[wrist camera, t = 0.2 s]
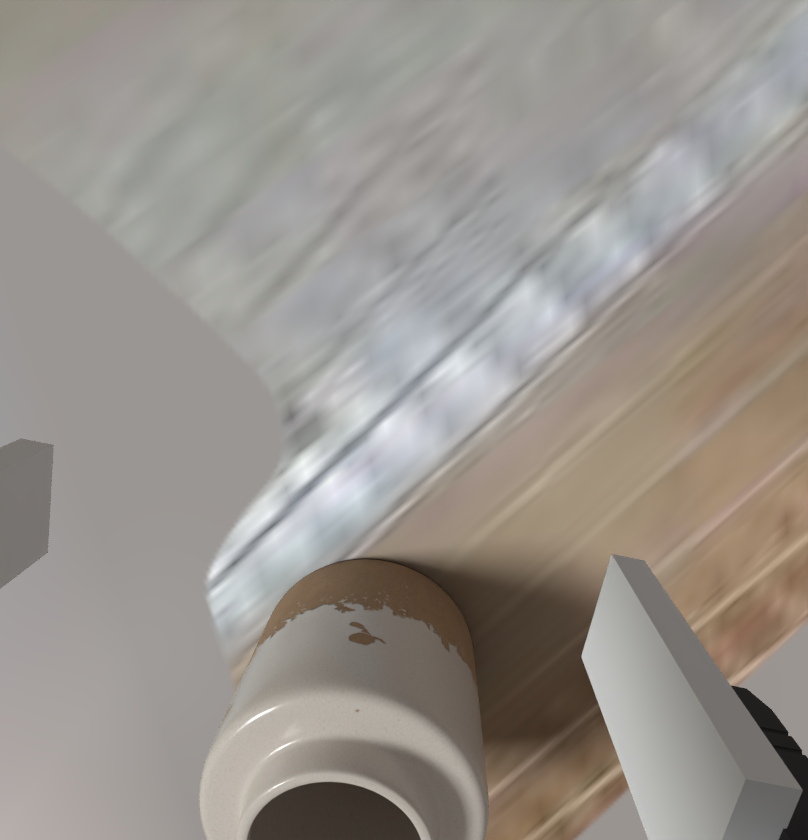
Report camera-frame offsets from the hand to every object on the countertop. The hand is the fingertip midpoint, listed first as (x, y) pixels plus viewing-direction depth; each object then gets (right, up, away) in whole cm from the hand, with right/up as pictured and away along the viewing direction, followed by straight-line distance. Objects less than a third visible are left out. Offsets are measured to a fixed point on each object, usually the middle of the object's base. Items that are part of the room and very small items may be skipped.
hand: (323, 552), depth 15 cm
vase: (-1, -14, +33) cm, 35 cm away
